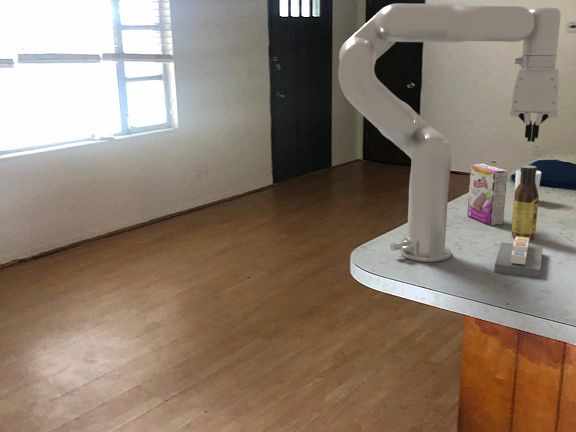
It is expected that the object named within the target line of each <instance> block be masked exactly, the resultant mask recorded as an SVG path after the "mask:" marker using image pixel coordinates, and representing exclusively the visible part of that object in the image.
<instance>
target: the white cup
mask: <svg viewBox="0 0 576 432" xmlns="http://www.w3.org/2000/svg"><path fill="white" fill-rule="evenodd" d="M520 170H521V168H520V169H517V170H516V171H515V178H514V181H515V182H514V186H515V187H514V191H515V190H516V188H517V187H518V185H519V184H520V183H521V182H520V179H521V171H520ZM541 176H542V171H540V170H537V172H536V176H535V184H536V187H537V191H538V192H539V189H540V183H541V178H542V177H541Z"/></svg>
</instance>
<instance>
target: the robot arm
mask: <svg viewBox="0 0 576 432" xmlns="http://www.w3.org/2000/svg"><path fill="white" fill-rule="evenodd" d="M561 14H562V13H561V11H560V9H559V8H558V7H534V8H530V9H528V8H526V7H524V6H515V5H514V6H513V5H508V6H507V5H504V6H503V5H500V6H499V5H467V4H455V3H454V4H453V3H452V4H451V3H392V4H389V5H386V6H384V7H382V8H381V9H380V10H379V11H378V12H376V14H375V15H373V17H372V18H370V19H369V20H368V21H367V22H366V23H365V24H364V25H363V26H361V27H360V28H359V30H357V31H356V32H355V33H354V34H353V35H351V37H349V38H348V39H347V40H346V41H345V42H344V43H343V44H342V46H341V47H340V49H339V53H338V59H339V64H338V83H339V85H340V89H341V92H342V94H343V96H344V97H345V99H346V100H347V101H348V102H349V103H350V105H352V106H353V107H354V108H355V110H357V111H358V112H359V113H360V114H361V115H362V116H363V117H364V118H366V119H367V120H368V121H369V122H370V123H371V124H372V125H373V126H374V127H375V128H377V130H378V131H379V132H380V133H381V135H382V136H384V137H385V138H386V139H388V140H389V141H391V142H392V143H393V144H394V145H395V146H397V147H398V149H400V150H401V151H403V152H404V153H405V154H406V155H407V156H408V157H409V159H410V160H411V163H410V164H411V165H410V166H411V167H410V174H409V186H408V208H407V209H408V213H407V214H408V215H407V235H405V236H403V240H401V241H399V242H391V243H390V246H389V247H390V250H391V251H392V252H394V251H399V250H400V254H401V255H402V256H403V257H405V258H406V259H409V260H412V261H416V262H425V263H434V262H441V261H445V260H448V259H449V258H451V256H452V251H451V249H450V248H449V247H448V246H446V235H447V217H448V216H447V215H448V200H449V198H448V197H449V185H450V184H449V183H450V174H451V169H452V163H453V150H452V145H451V143H450V141H449V140H448V138H447V137H446V136H445V135H444V134H442V133H441V132H439V131H438V130H436V129H435V128H434V127H433V126H432V125H431V124H430V123H428V121H426V120H425V119H424V118H423V117H421V115H419V113H417V112H416V111H415V110H414V109H413V108H412V107H411V106H410V105H409V104H408V103H406V102H405V101H403V100H401V99H400V98H398V97H397V96H396V95H395V94H394V93H393V92H392V91H390V90H389V89H388V87H387V86H385V85H384V84H383V83H382V82H381V80H379V79H378V78H377V76H376V75H377V74H376V73H375V65H376V62H377V60H378V59H379V58H380V57H381V56H382V55H384V54H385V53H386V52H387V51H389V49H390V48H391V47H393V46H394V45H395V44H396V43H397V42H399V43H449V44H450V43H451V44H452V43H453V44H455V43H463V42H505V43H506V42H508V43H509V42H510V43H511V42H512V43H518V42H522V41H523V42H522V53H521V56H520V57H517V58H516V57H515V60H514V64H515V65H518V66H520V68H518V69H517V70H516V73H515V74H516V75H515V78H514V83H513V90H512V96H511V97H512V98H511V109H510V113H509V115H510V116H511V117H516V118H519V119H520V120H521V121H522V122H523V123H524V125H525V128H524V129H525V131H524V138H527V142H529V143H530V142H532V143H534V142H535V140H536V139H539V133H540V125H541V124H542V123H544V122H545V121H546V120H547V119H553V118H557V117H558V115H559V112H558V106H559V105H558V104H559V98H560V97H559V96H560V95H559V94H560V73H559V71H560V70H559V69H558V68H556V64H557V55H558V45H559V36H560V26H561ZM531 113H532V114H533V113H534V114H535V113H536V118H535V121H534V122H533V123H532V120H531Z"/></svg>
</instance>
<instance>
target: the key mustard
mask: <svg viewBox="0 0 576 432" xmlns="http://www.w3.org/2000/svg"><path fill="white" fill-rule="evenodd" d="M515 241H521V242H528V245H530V244H529V243H530V239H529V238H527V237H517V236H516V238H514V242H515Z"/></svg>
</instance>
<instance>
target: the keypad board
mask: <svg viewBox="0 0 576 432" xmlns="http://www.w3.org/2000/svg"><path fill="white" fill-rule="evenodd" d="M513 244H514V242H513V243H510V242H502V241H501V242H500V247H499V249H498V253H497V256H496V259H495V262H494V269H493V270H494V273H497V274H499V273H500V274H505V275H506V274H507V275H514V276H522V277H530V278H540V277H541V269H542V259H543V248H544V247H543V246H542V245H541V246H537V245H532V244H531V245H530V244H529V245H528V251H527V255H526V262H525V265H524V264H523V266H522V265H514V264H513V263H511V254H512V251H513Z"/></svg>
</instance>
